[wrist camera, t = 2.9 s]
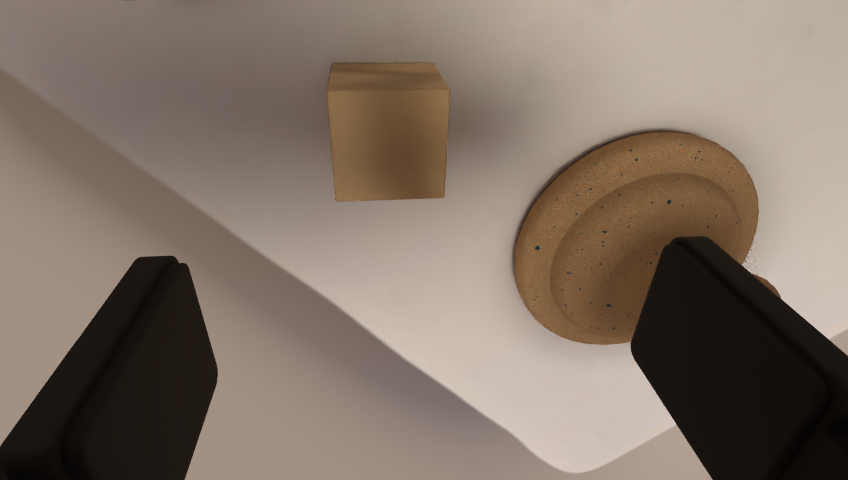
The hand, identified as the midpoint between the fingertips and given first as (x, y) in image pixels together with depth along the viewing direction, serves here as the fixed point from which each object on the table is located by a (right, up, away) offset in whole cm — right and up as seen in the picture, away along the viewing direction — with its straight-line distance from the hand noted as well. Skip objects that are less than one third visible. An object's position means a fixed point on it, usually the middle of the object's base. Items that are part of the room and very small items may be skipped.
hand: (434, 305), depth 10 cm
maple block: (-2, +7, +10) cm, 12 cm away
